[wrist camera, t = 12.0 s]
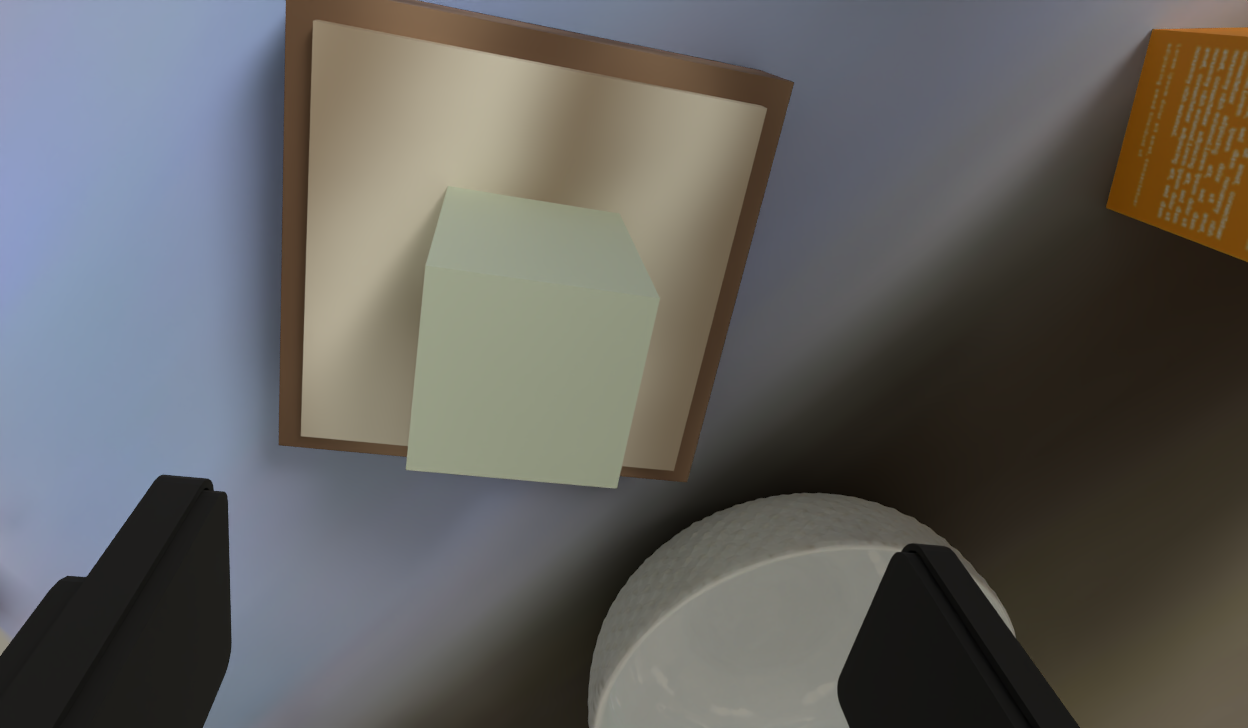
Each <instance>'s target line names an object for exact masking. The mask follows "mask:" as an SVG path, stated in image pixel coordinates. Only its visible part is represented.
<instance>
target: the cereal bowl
mask: <svg viewBox="0 0 1248 728" xmlns="http://www.w3.org/2000/svg"><path fill="white" fill-rule="evenodd" d="M911 543H917V544H928V545H939V546H946V547H948V548H950V549H951V550H952V551H953V552H954V553H955V554H956V555H957V557H958V558H959V560H960V561H961V562H962V564H963V565H964V567H965V568H966V569H967V571H968V572H969V574H970V575H971V576H972V578H973V579H974V581H975V582H976V583H977V585H978V586H979V588H980V589H981V590H982V592H983V593H984V595H985V596H986V597H987V599H988V600H989V601H990V603H991V604H992V606H993V607H994V608H995V610H996V611H997V613H998V614H999V615H1000V617H1001V618H1002V620H1003V621H1004V622H1005V624H1006V625H1007V627H1008V628H1009V629H1010V631H1011V632H1012V634H1013V635H1014V636H1015V638H1016V635H1015V631H1014V628H1013V625H1012V623H1011V620H1010V618H1009V616H1008V614H1007V612H1006V610H1005V608H1004V606H1003V605H1002V603H1001V601H1000V600H999V598H998V597H997V595H996V593H995V592H994V591H993V590H992V589H991V588H990V587H989V585H988V584H987V582H986V580H985V579H984V578H983V577H982V576H980V575H979V574H978V573H977V572H976V570H975V569H974V568H973V566H972V565H971V563H970V562H968V561H967V560H966V559H965V558H964V557H963V556H962V555H961V553H960V552H959V551H958V550H957V549H955V548H954V547H952V546H951V545H950V544H949V543H948V542H947V541H946V540H945V539H944V538H942V537H941V536H939V535H937V534H936V533H935V532H934V531H933V530H932V529H931V528H930V527H927V526H926V525H925V524H921V523H920V522H918V521H917V520H916V519H915V518H914V517H911V516H907V515H904V514H902V513H900V512H899V511H897V510H896V509H895V508H890V507H886V506H883V505H881V504H879V503H877V502H871V501H866V500H864V499H859V498H856V497H851V496H844V495H836V494H827V493H825V494H823V493H814V494H811V493H801V494H799V493H794V494H790V495H783V494H782V495H779V496H771V497H768V498H759V499H756V500H754V501H747V502H745V503H743V504H737V505H734V506H733V507H731V508H727V509H725V510H723V511H717V512H715V513H714V514H713V515H711V516H708V517H705V518H704V519H702V520H701V521H697V522H693V523H692V525H691V526H690V527H688V528H686V529H684V530H682V531H681V532H680V533H678V534H676V535H675V536H674V537H673V538H672V539H671V540H669V541H668V542H666V543H665V544H663V545H662V546H661V547H660V548H658V549H657V550H656V551H655V552H654V553H653V554H652V555H651V556H650V557H649V558H647V559H646V560H645V561H644V563H643V564H642V565H640V567H639V568H638V569H637V570H636V571H635V572H634V574H633V575H631V576H630V578H629V580H628V581H627V583H626V585H625V586H624V587H623V588H622V589H621V590H620V592H619V593H618V595H617V598H616V599H615V601H614V602H613V603H612V605H611V607H610V609H609V611H608V614H607V616H606V618H605V619H604V621H603V624H602V628H601V631H600V633H599V636H598V638H597V643H596V647H595V650H594V653H593V660H592V665H591V669H590V681H589V696H588V709H589V715H588V724H589V728H849V725H848V723H847V721H846V718H845V716H844V714H843V711H842V709H841V706H840V703H839V700H838V695H837V684H838V679H839V676H840V674H841V671H842V669H843V667H844V664H845V662H846V660H847V658H848V655H849V653H850V651H851V648H852V646H853V644H854V642H855V639H856V637H857V635H858V632H859V630H860V628H861V626H862V623H863V621H864V619H865V616H866V614H867V612H868V610H869V607H870V605H871V603H872V600H873V598H874V596H875V594H876V591H877V589H878V587H879V584H880V582H881V580H882V578H883V575H884V573H885V571H886V568H887V566H888V564H889V562H890V559H891V558H892V556H893V555H894V554H895V553H896V552H901V551H902V549H903V548H904V547H905V546H906V545H907V544H911Z"/></svg>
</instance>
